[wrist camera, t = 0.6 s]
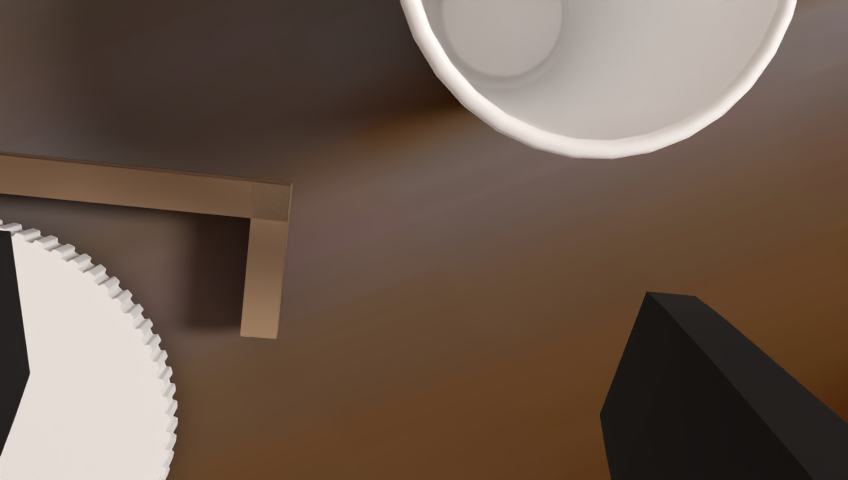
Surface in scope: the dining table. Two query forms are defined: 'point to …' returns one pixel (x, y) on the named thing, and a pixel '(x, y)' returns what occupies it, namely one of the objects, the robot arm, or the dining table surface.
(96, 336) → the plastic lid
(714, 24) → the cup
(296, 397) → the dining table surface
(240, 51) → the dining table surface
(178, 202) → the tub frame
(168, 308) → the dining table surface
